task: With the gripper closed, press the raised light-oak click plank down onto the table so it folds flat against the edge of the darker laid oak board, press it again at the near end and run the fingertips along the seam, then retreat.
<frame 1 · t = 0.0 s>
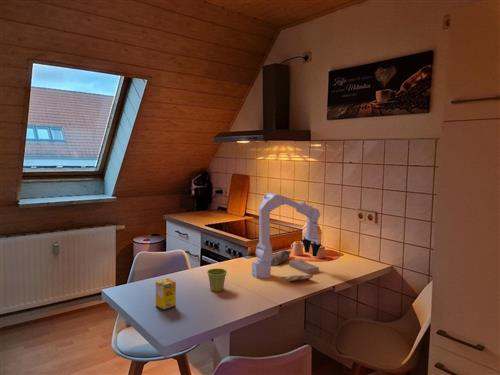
hand: (310, 254, 206), 10 cm above the table, tool pointing down, fingers open, 7 cm apart
click plank: (299, 278, 189), point 2 cm above the table, hinge at 30.0°
decorative bottle: (281, 262, 224), on the table
laid board: (293, 279, 195), on the table
plant pot: (216, 289, 178), on the table
supplement box: (165, 307, 157), on the table
brick: (303, 271, 209), on the table
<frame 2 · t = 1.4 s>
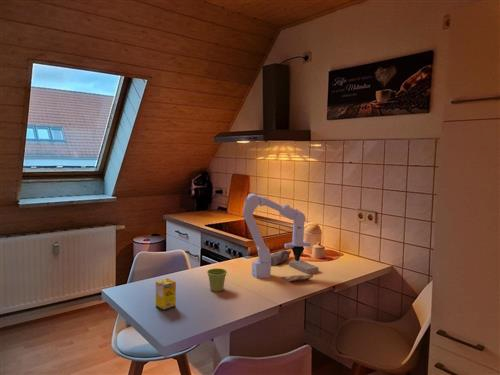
hand: (297, 260, 196), 9 cm above the table, tool pointing down, fingers closed
nothing on the table moved.
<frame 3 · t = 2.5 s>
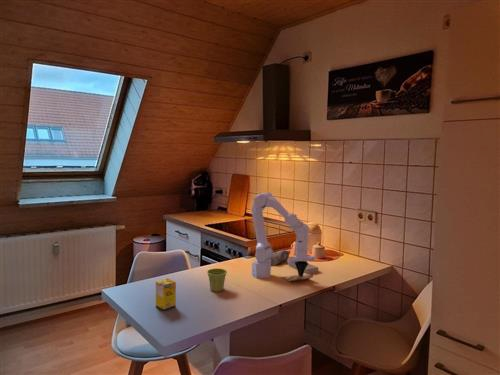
hand: (300, 275, 187), 4 cm above the table, tool pointing down, fingers closed, pressing on click plank
click plank: (299, 278, 189), point 2 cm above the table, hinge at 29.8°, touching gripper
everything else where it was.
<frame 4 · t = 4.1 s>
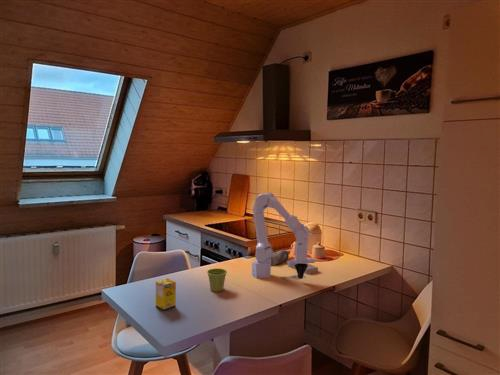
hand: (300, 278, 187), 3 cm above the table, tool pointing down, fingers closed
click plank: (299, 282, 189), point 1 cm above the table, hinge at -1.8°
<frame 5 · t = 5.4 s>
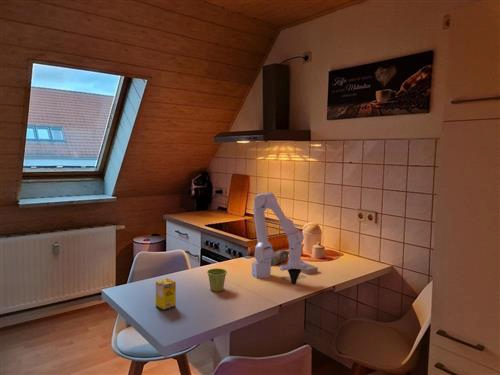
hand: (293, 283, 185), 1 cm above the table, tool pointing down, fingers closed
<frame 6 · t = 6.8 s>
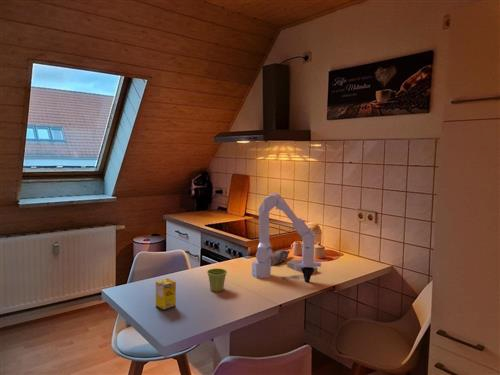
hand: (306, 281, 188), 1 cm above the table, tool pointing down, fingers closed
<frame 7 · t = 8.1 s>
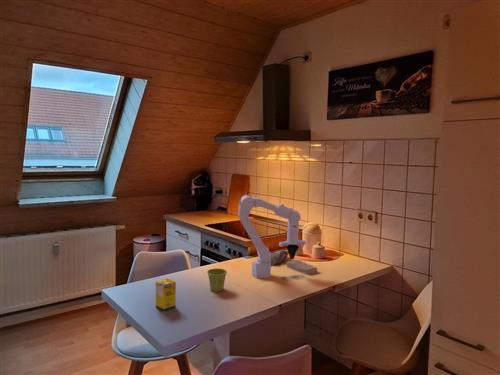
hand: (291, 258, 197), 10 cm above the table, tool pointing down, fingers closed
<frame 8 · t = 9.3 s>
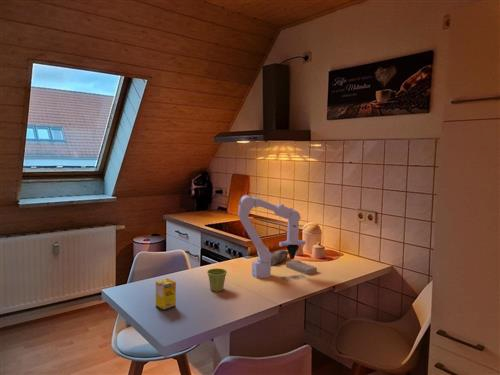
hand: (291, 258, 197), 10 cm above the table, tool pointing down, fingers closed
at the end: click plank at -2° (first picture: +30°); the gripper is holding nothing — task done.
